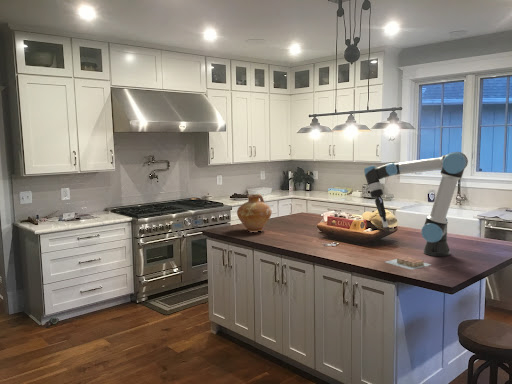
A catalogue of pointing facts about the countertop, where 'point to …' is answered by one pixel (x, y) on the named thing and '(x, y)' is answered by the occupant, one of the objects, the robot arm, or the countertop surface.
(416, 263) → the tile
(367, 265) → the countertop surface
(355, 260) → the countertop surface
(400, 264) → the mat
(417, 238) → the countertop surface
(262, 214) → the jug
